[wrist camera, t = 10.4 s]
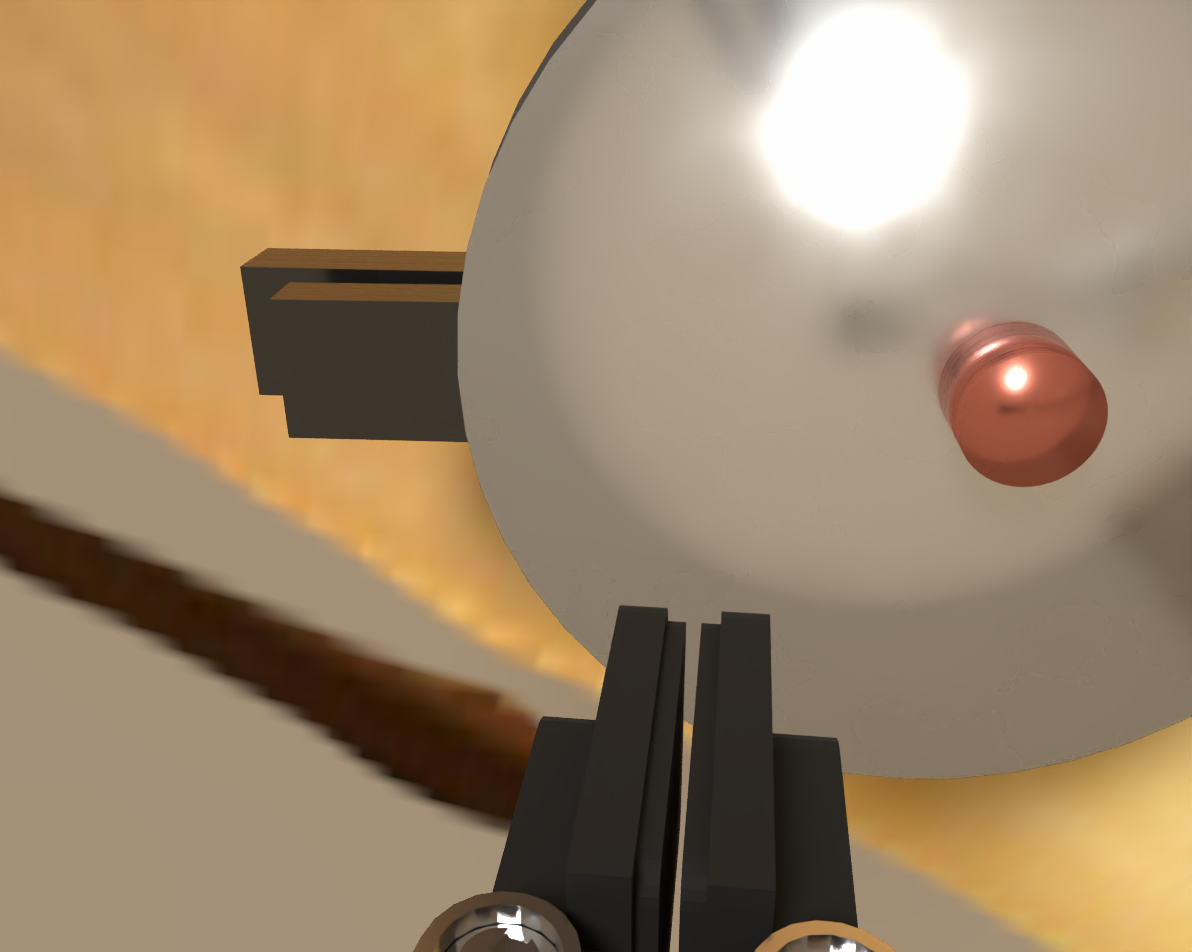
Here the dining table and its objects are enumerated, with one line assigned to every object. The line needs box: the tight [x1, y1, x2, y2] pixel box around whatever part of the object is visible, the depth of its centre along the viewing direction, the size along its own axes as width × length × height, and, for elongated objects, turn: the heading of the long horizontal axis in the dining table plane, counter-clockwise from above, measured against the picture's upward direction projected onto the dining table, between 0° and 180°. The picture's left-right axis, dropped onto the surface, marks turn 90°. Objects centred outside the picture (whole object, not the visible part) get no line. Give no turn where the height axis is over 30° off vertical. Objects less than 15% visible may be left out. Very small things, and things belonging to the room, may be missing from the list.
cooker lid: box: [269, 0, 1192, 778], centre depth 22 cm, size 23×20×3 cm
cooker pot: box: [240, 0, 597, 395], centre depth 28 cm, size 25×20×10 cm
